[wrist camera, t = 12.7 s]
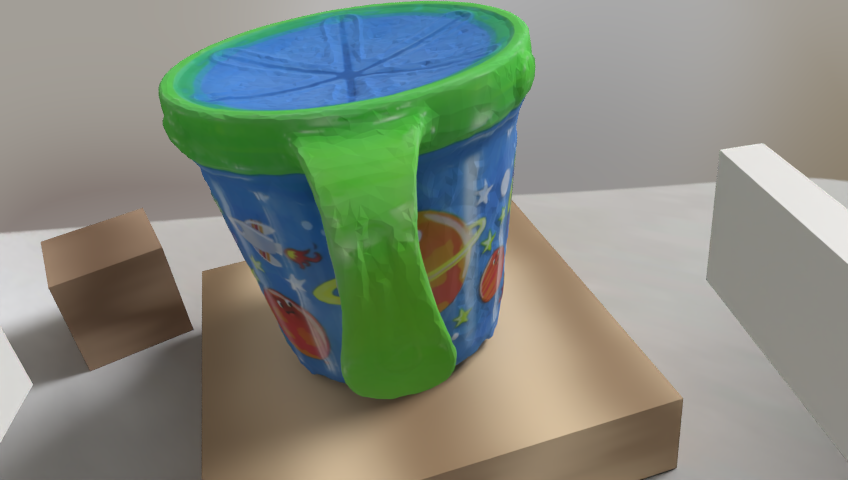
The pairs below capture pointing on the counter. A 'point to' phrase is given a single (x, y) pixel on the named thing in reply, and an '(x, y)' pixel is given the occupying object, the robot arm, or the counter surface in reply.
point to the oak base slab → (442, 393)
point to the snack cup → (365, 177)
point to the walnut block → (114, 288)
